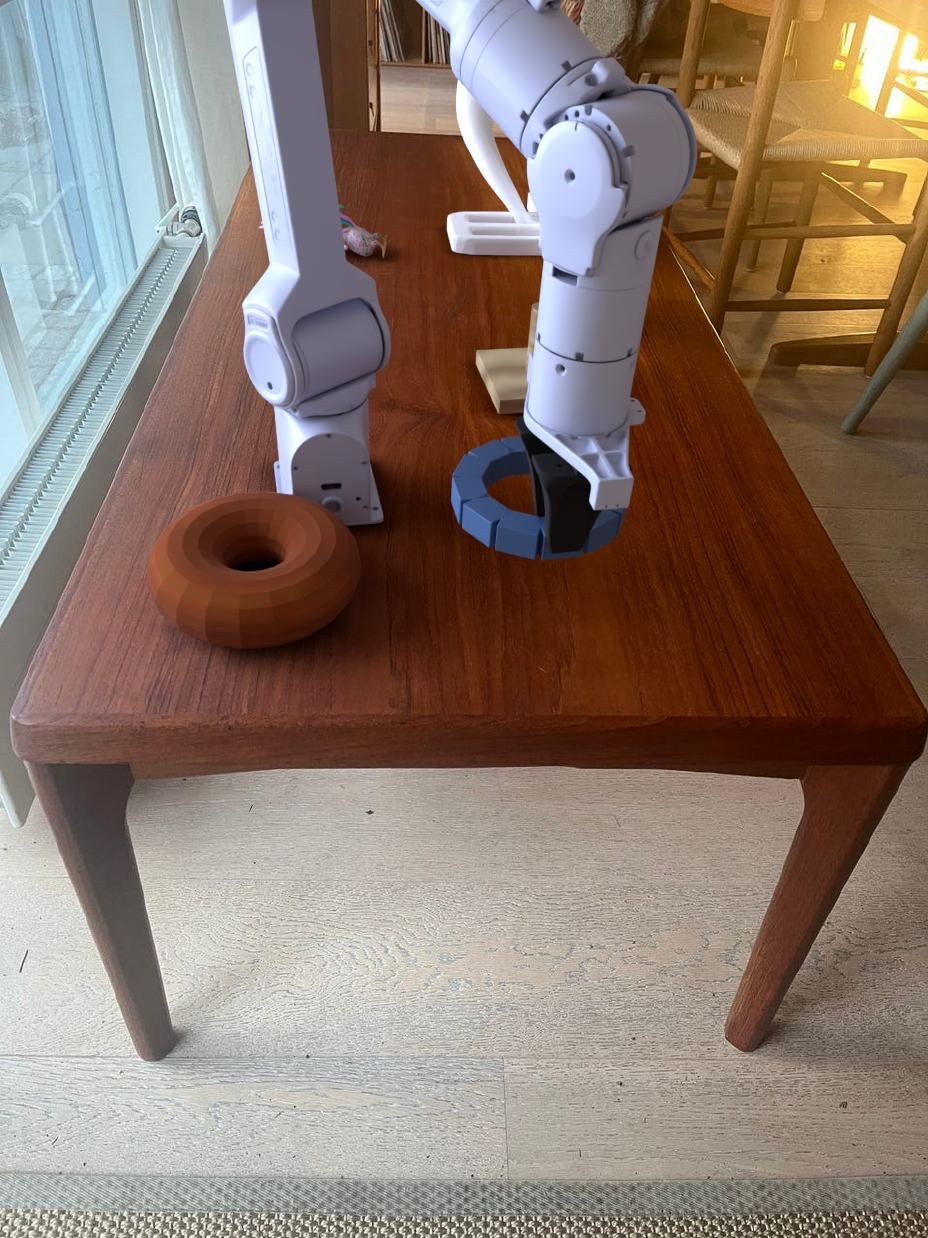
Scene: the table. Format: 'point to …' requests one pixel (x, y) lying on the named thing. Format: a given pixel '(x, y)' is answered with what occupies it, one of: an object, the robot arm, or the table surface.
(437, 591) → the table surface
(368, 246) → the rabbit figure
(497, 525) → the ring
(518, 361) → the stand
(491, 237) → the jewelry stand
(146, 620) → the table surface
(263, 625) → the donut
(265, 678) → the table surface
